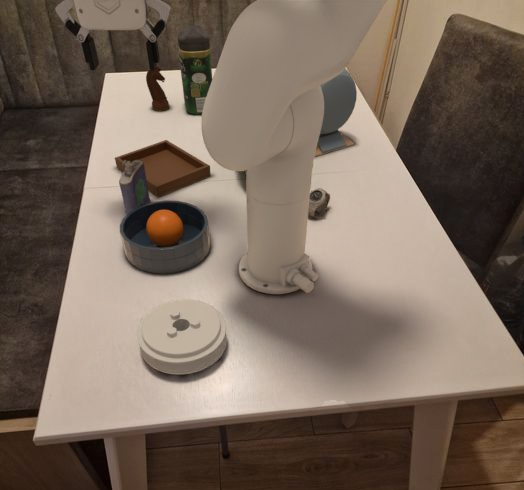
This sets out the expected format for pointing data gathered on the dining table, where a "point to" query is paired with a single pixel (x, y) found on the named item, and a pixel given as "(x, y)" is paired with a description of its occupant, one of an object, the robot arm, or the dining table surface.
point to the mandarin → (164, 228)
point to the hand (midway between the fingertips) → (124, 67)
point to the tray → (166, 167)
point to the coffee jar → (195, 66)
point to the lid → (182, 336)
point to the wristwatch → (318, 202)
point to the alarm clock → (336, 112)
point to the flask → (134, 185)
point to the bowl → (165, 258)
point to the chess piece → (156, 90)
